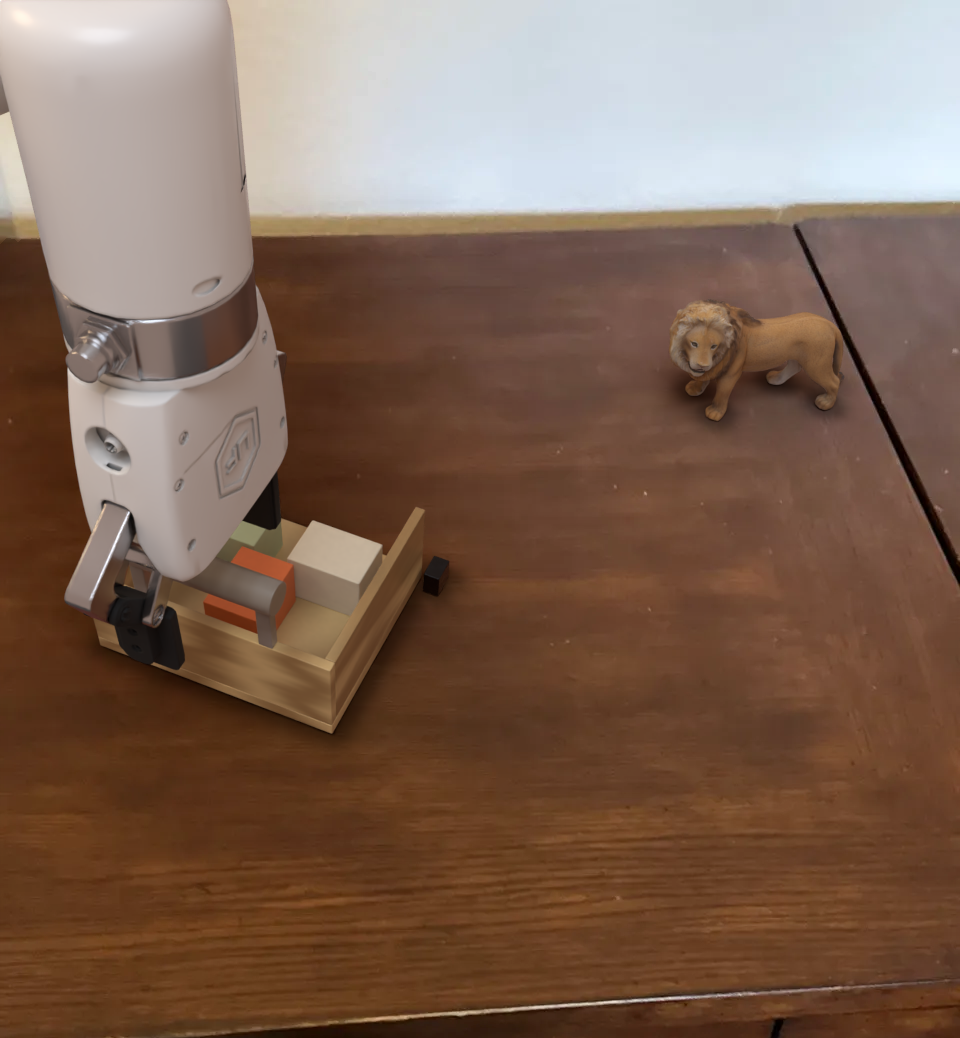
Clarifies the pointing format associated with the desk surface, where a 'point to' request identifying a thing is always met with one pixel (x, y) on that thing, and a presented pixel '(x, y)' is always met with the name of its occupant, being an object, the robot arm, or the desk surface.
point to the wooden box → (286, 631)
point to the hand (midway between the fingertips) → (204, 584)
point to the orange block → (245, 615)
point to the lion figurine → (753, 350)
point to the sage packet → (252, 541)
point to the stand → (435, 576)
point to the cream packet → (333, 567)
